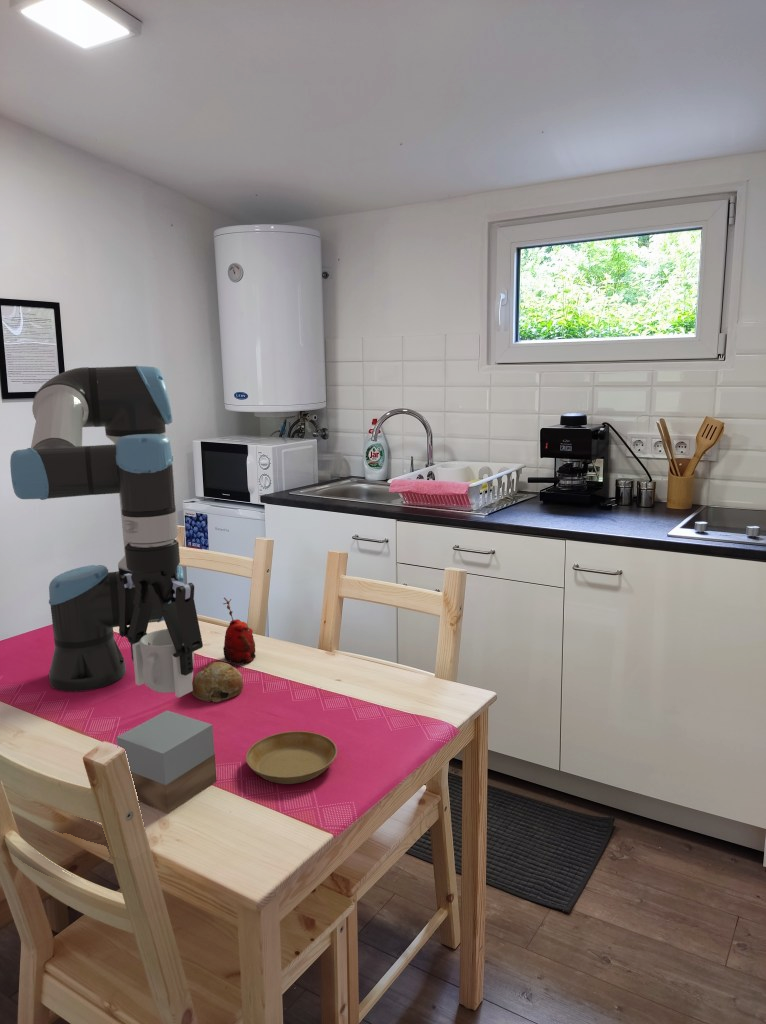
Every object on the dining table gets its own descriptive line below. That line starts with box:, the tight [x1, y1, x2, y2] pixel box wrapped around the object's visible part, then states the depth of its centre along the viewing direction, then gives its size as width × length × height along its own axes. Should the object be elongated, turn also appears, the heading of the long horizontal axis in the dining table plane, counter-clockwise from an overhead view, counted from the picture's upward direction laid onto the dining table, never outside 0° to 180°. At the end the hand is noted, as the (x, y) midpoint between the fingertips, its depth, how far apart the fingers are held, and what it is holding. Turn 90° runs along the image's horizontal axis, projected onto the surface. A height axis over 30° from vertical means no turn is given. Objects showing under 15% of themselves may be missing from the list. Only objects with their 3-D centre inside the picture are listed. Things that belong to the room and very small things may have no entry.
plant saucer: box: [245, 730, 338, 785], centre depth 121 cm, size 15×15×3 cm
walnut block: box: [131, 754, 218, 815], centre depth 115 cm, size 10×10×5 cm
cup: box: [139, 628, 195, 694], centre depth 111 cm, size 11×8×8 cm
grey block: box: [116, 710, 216, 785], centre depth 114 cm, size 10×10×5 cm
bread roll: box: [191, 661, 244, 703], centre depth 149 cm, size 10×10×8 cm
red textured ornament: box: [222, 597, 256, 664], centre depth 164 cm, size 8×7×15 cm
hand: (163, 687), depth 112 cm, fingers closed on cup, 8 cm apart
